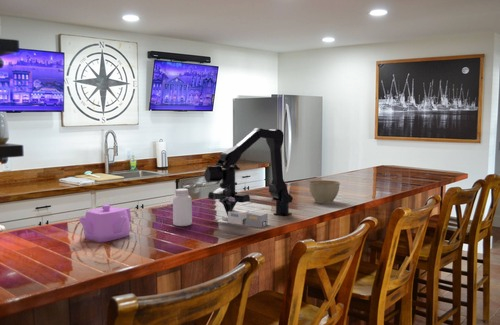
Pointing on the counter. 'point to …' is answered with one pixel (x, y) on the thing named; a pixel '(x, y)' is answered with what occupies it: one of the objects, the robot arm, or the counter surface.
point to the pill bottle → (182, 208)
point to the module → (237, 216)
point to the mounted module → (257, 218)
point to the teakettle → (106, 223)
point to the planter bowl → (324, 190)
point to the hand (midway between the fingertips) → (228, 216)
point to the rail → (225, 219)
